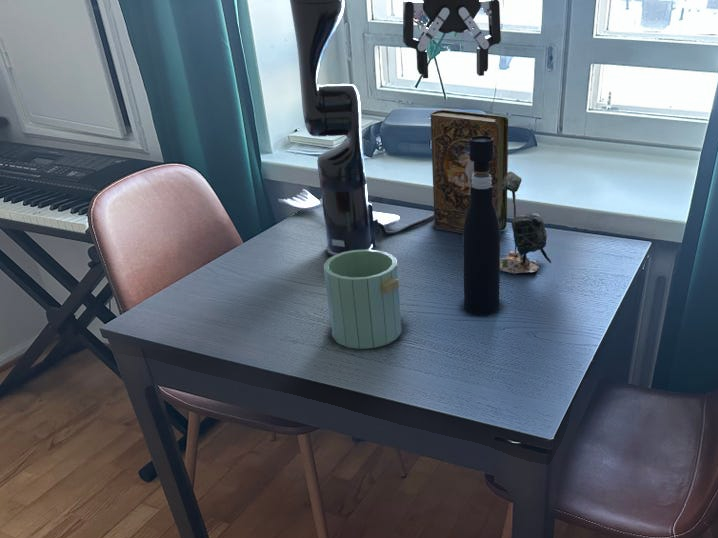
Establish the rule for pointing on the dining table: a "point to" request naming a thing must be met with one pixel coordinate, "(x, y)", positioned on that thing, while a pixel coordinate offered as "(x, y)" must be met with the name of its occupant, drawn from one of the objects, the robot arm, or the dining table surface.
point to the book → (465, 164)
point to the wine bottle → (481, 235)
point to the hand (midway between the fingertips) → (452, 76)
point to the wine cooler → (363, 298)
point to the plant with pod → (523, 235)
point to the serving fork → (313, 203)
